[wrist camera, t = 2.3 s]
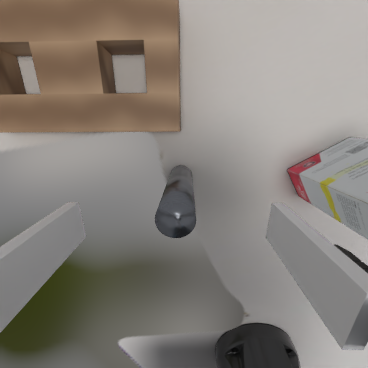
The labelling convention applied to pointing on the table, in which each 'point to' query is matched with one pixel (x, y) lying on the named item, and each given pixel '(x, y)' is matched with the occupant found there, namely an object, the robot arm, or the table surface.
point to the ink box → (337, 182)
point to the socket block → (89, 65)
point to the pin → (177, 204)
